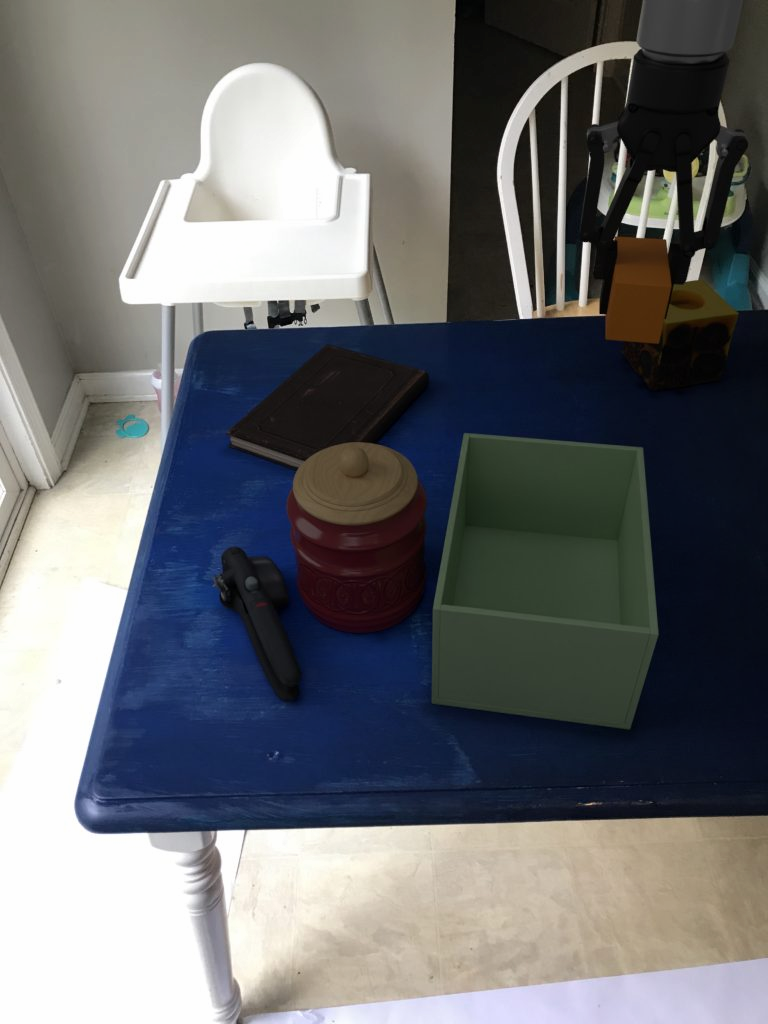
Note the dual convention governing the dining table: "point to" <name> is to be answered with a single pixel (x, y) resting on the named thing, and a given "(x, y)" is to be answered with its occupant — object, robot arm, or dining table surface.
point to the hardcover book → (327, 406)
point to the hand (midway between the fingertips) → (632, 309)
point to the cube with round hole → (686, 340)
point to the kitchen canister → (358, 536)
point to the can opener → (261, 615)
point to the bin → (546, 582)
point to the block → (639, 291)
